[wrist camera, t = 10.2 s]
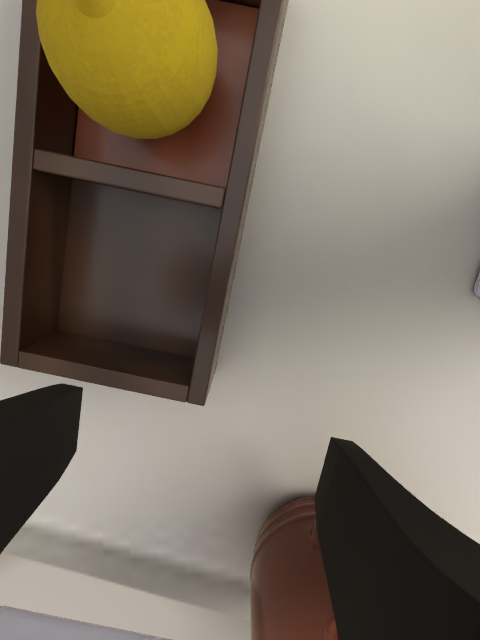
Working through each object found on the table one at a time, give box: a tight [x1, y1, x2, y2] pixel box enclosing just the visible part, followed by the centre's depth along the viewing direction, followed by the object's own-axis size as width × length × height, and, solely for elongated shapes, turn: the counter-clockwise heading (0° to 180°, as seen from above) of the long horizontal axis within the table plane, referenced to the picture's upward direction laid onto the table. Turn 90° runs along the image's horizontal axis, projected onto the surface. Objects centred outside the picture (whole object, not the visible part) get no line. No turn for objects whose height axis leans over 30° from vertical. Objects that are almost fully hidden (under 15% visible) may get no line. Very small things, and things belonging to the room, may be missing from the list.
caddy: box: [0, 0, 288, 406], centre depth 18 cm, size 9×17×4 cm, turn 169°
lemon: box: [36, 0, 218, 139], centre depth 14 cm, size 6×6×8 cm
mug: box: [250, 497, 338, 640], centre depth 18 cm, size 12×9×10 cm
